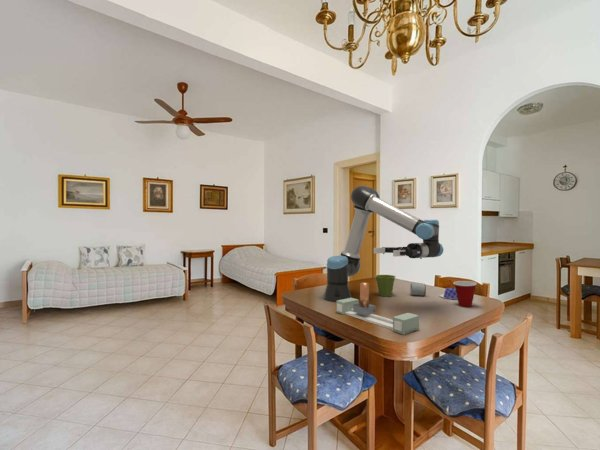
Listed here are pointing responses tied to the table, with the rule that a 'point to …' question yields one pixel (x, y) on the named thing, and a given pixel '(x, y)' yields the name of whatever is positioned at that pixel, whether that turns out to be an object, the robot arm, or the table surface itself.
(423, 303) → the table surface
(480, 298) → the table surface
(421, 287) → the ceramic mug
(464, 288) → the plastic cup
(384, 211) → the robot arm
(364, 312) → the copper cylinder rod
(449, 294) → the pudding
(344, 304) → the rail board
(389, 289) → the plant pot
